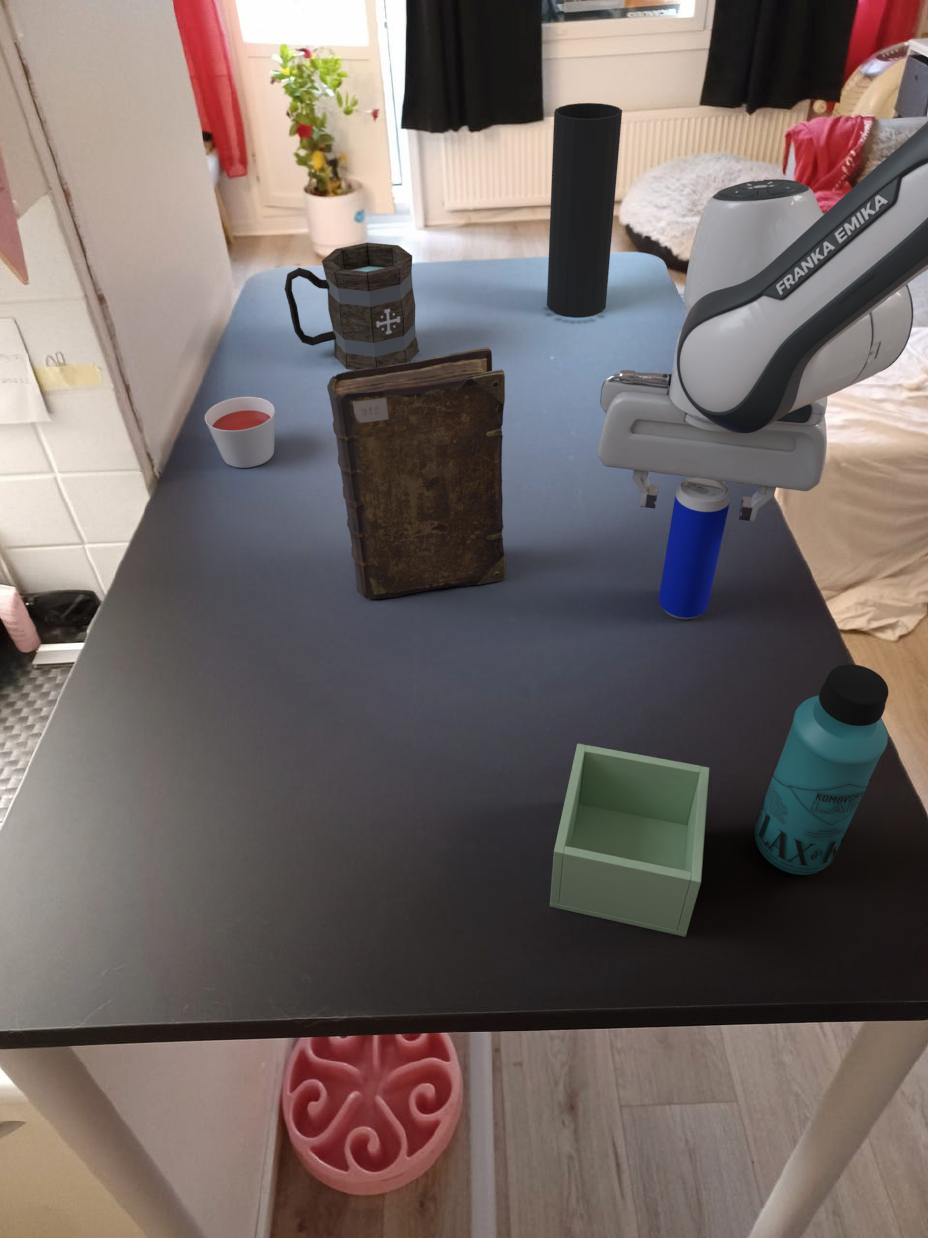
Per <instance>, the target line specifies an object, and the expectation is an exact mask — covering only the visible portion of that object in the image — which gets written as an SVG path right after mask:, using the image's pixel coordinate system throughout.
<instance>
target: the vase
mask: <svg viewBox="0 0 928 1238" xmlns="http://www.w3.org/2000/svg"><path fill="white" fill-rule="evenodd" d="M622 118H623V109H622V108H620V107H619V106H616V105H612V104H609V103H608V104H607V103H599V102H598V103H597V102H583V103H582V102H578V103H571V104H565V105H562V106H558V107H557V108H555V109H554V112H553V132H552V133H553V135H552V157H551V159H552V161H551V162H552V163H551V189H550V210H549V211H550V212H549V213H550V214H549V218H550V219H549V239H548V266H547V287H546V288H547V290H546V306H547V308H548V309H549V310H550V311H551V312H553V313H554V314H556V315H560V316H562V317H569V318H586V317H591V316H595V315H597V314H601V313H602V312H603V311H604V310H605V309H606V307H607V298H608V297H607V296H608V285H609V284H608V283H609V272H610V262H611V250H612V249H611V248H612V239H613V238H612V237H613V225H614V214H615V202H616V201H615V200H616V189H617V177H618V165H619V154H620V153H619V152H620V142H621V129H622Z"/></svg>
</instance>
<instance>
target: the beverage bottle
mask: <svg viewBox="0 0 928 1238" xmlns="http://www.w3.org/2000/svg"><path fill="white" fill-rule="evenodd" d="M888 697H889V686H888V684H887V682H886V680H885V679H884V678H883V677H882V676H881V675H880V674H879V673H878V672H876V671H875V670H873V669H871V668H869V667H866V666H864V665H859V664H853V663H852V664H850V663H849V664H841V665H838V666H836V667H834V668H833V669H832V670H830V672H829V673H828V674H827V677H826V679H825V681H824V683H823V684H822V686H821V688H820V690H819V693H818V695H815V696H811V697H808V698H807V699H805V700H804V701H802V702H801V703H800V704H799V705H798V706H797V708H796V709H795V711H794V714H793V719H792V723H791V725H790V729H789V731H788V734H787V737H786V740H785V742H784V746H783V749H782V751H781V754H780V757H779V759H778V763H777V765H776V766H775V767H774V770H772V771H771V774H770V778H769V780H768V786H767V788H766V792H765V793H764V795H763V798H762V800H761V803H760V806H759V809H758V812H757V815H756V817H755V822H754V824H755V825H754V826H753V830H752V831H753V832H754V836H753V837H754V840H755V843H756V846H757V848H758V850H759V852H760V853H761V855H762V856H763V857H764V858H765V860H767V861H768V863H770V864H771V865H773V866H774V867H775V868H777V869H779V870H781V871H784V872H786V873H789V874H793V875H798V876H800V875H801V876H807V875H808V876H809V875H813V874H817V873H819V872H821V871H823V870H825V869H827V868H828V867H830V865H832V864H833V863H834V861H835V859H836V857H837V855H838V854H839V852H840V850H841V847H842V846H843V844H844V842H845V840H846V837H847V835H848V833H849V831H848V828H849V826H850V823H851V821H852V820H853V817H854V816H855V814H856V812H857V811H856V810H858V809H857V808H859V805H860V804H861V803H862V802H863V801H864V799H862V798H863V797H864V794H865V792H866V789H867V788H869V787H870V786H871V784H870V782H871V781H872V779H871V777H872V775H873V773H874V771H875V769H876V767H877V764H878V763H879V760H880V758H881V756H882V755H883V753H884V752H885V750H886V748H887V746H888V740H889V736H888V735H889V734H888V731H887V727H886V725H885V723H884V722H883V720H882V719H881V718H882V717H883V715H884V712H885V709H886V704H887V701H888ZM867 791H868V789H867ZM861 800H862V801H861ZM846 832H847V833H846Z"/></svg>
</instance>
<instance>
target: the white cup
mask: <svg viewBox="0 0 928 1238" xmlns="http://www.w3.org/2000/svg"><path fill="white" fill-rule="evenodd" d="M204 422H205V424H206V426H207V428H208V431H209V432H210V435H211V437H212V439H213V442H214V444H215V446H216V448H217V450H218V452H219V454H220V456H221V458H222V460H223V461H224V463H225V464H226V465H228V466H231V467H232V468H233V467H234V468H239V469H247V468H248V469H249V468H254V467H258V466H260V465H263V464H266V463H267V462H269V461H270V459H272V457H273V456H274V453H275V445H276V444H275V442H276V441H275V440H276V439H275V436H276V435H275V434H276V433H275V432H276V409H275V406H274V405H273V403H272V402H270V401H269V400H267V399H265V398H262V397H256V396H239V397H233V398H228V399H225V400H222V401H219V402H218V403H216V404H214V405H212V406H211V407H210V408H209V409H208V410H207V411H206V413H205V414H204Z"/></svg>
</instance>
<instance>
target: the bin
mask: <svg viewBox="0 0 928 1238" xmlns="http://www.w3.org/2000/svg"><path fill="white" fill-rule="evenodd" d="M570 771H571V772H570V775H569V780H568V785H567V789H566V793H565V797H564V803H563V807H562V812H561V817H560V822H559V825H558V831H557V835H556V840H555V844H554V849H553V858H552V872H551V884H550V898H549V907H550V908H554V909H559V910H563V911H568V912H572V913H577V914H581V915H586V916H591V917H594V918H598V919H604V920H608V921H612V922H617V923H622V924H627V925H629V926H630V925H631V926H635V927H640V928H645V929H649V930H653V931H657V932H663V933H665V934H671V935H675V936H680V937H684V938H686V937H687V933H688V929H689V926H690V923H691V919H692V915H693V913H694V912H693V911H694V908H695V904H696V901H697V898H698V894H699V890H700V887H701V884H702V876H703V875H702V874H703V861H704V846H705V833H706V821H707V820H706V819H707V808H708V795H709V782H710V781H709V780H710V779H709V778H710V767H708V766H703V765H700V764H699V765H698V764H692V763H686V762H683V761H676V760H671V759H665V758H659V757H655V756H649V755H644V754H639V753H634V752H633V753H632V752H627V751H621V750H616V749H610V748H605V747H599V746H594V745H589V744H583V743H577V744H576V748H575V753H574V756H573V762H572V766H571V770H570Z"/></svg>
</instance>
